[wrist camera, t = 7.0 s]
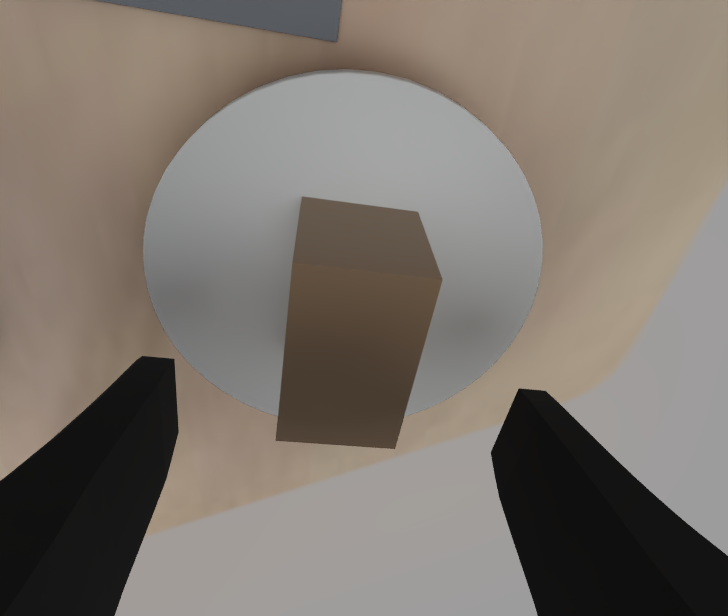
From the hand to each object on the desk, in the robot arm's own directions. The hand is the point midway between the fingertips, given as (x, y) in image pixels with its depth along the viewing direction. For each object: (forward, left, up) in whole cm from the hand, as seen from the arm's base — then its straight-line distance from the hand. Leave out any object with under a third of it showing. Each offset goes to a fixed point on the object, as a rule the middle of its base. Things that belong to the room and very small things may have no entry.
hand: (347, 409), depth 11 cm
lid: (0, 0, -5) cm, 5 cm away
